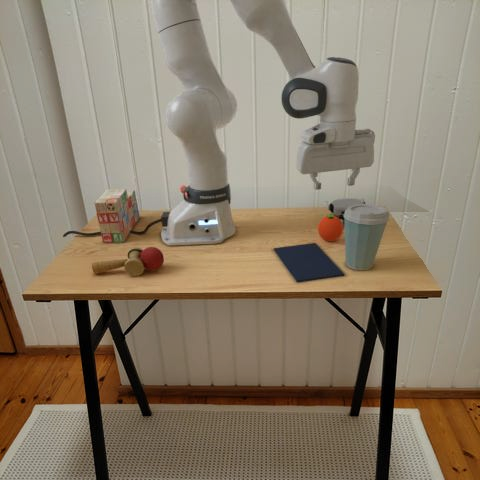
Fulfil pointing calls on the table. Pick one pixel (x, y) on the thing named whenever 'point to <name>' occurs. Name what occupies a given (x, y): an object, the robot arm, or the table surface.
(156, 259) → the kendama
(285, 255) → the cloth
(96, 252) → the table surface
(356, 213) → the disposable coffee cup
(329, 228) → the clementine
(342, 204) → the robot toy
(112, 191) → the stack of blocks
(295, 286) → the table surface
